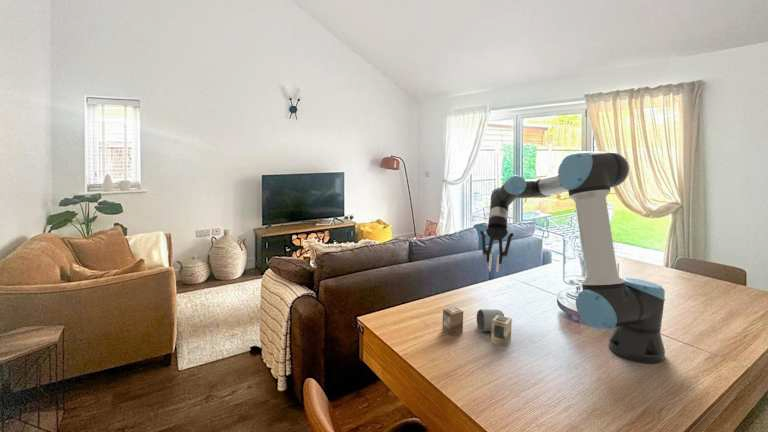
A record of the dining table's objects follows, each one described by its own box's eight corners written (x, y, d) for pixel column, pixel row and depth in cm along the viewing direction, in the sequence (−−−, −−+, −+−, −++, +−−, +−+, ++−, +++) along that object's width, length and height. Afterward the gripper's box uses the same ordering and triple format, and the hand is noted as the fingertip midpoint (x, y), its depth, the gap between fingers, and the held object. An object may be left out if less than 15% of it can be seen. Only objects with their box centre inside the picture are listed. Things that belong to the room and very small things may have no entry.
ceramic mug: (506, 333, 139) (507, 312, 138) (484, 335, 138) (485, 314, 137) (492, 321, 149) (493, 301, 148) (472, 323, 148) (472, 303, 147)
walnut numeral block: (462, 332, 140) (463, 310, 138) (451, 336, 137) (451, 313, 136) (453, 327, 144) (453, 306, 143) (441, 330, 141) (442, 308, 140)
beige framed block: (510, 340, 134) (511, 317, 132) (505, 347, 129) (507, 323, 128) (496, 337, 136) (497, 314, 135) (490, 343, 132) (491, 319, 131)
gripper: (517, 226, 166) (514, 276, 153) (479, 224, 171) (473, 272, 158) (517, 216, 160) (514, 267, 147) (478, 214, 165) (472, 263, 152)
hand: (493, 269), depth 152 cm, fingers open, 2 cm apart
